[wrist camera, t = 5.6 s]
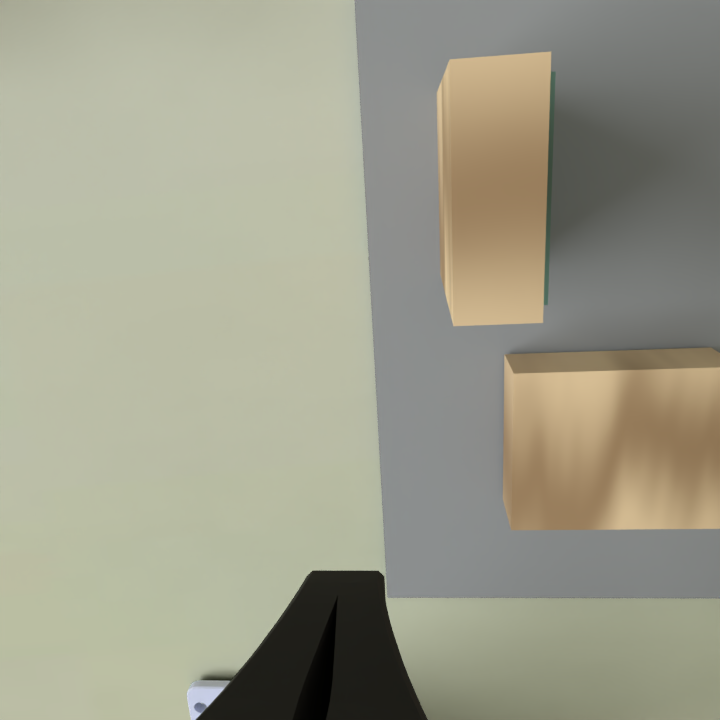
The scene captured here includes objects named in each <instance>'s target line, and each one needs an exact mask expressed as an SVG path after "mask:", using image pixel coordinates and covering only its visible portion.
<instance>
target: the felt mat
mask: <svg viewBox="0 0 720 720" xmlns="http://www.w3.org/2000/svg"><path fill="white" fill-rule="evenodd" d="M355 15H356V33H357V52H358V70H359V88H360V106H361V124H362V142H363V160H364V178H365V197H366V215H367V233H368V251H369V269H370V287H371V305H372V323H373V341H374V360H375V378H376V396H377V414H378V432H379V450H380V468H381V486H382V505H383V523H384V541H385V559H386V577H387V595H388V598H720V529H627V530H511V528H510V524H509V520H508V517H507V513H506V509H505V506H504V502H503V437H504V354H528V353H558V352H588V351H618V350H649V349H679V348H709V347H711V348H713V349H714V350H716V351H717V352H719V353H720V0H355ZM539 52H551V72H556V75H555V106H554V136H553V167H552V197H551V227H550V258H549V288H548V305H544V307H543V323H527V324H501V325H474V326H453V322H452V318H451V314H450V310H449V307H448V303H447V299H446V295H445V291H444V287H443V283H442V279H441V275H440V232H439V183H438V134H437V91H438V88H439V86H440V83H441V80H442V78H443V75H444V73H445V70H446V68H447V65H448V62H449V60H450V59H461V58H474V57H487V56H500V55H513V54H526V53H539Z"/></svg>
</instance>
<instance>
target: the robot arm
mask: <svg viewBox="0 0 720 720" xmlns="http://www.w3.org/2000/svg"><path fill="white" fill-rule="evenodd" d="M187 700H188V705H189V711H190V716H191V720H427V717H426V715H425V713H424V711H423V709H422V707H421V705H420V702H419V700H418V698H417V696H416V693H415V691H414V688H413V686H412V684H411V681H410V679H409V677H408V674H407V671H406V669H405V666H404V664H403V661H402V658H401V655H400V652H399V649H398V646H397V643H396V640H395V637H394V634H393V631H392V627H391V624H390V620H389V615H388V611H387V607H386V601H385V582H384V576H383V575H382V574H381V573H380V572H379V571H312V572H311V573H310V574H309V575H308V576H307V577H306V579H305V580H304V582H303V584H302V585H301V587H300V588H299V590H298V592H297V593H296V595H295V596H294V598H293V599H292V601H291V602H290V604H289V605H288V607H287V608H286V610H285V611H284V613H283V614H282V616H281V617H280V618H279V620H278V621H277V623H276V624H275V625H274V627H273V628H272V629H271V631H270V632H269V633H268V635H267V636H266V637H265V639H264V640H263V642H262V643H261V644H260V646H259V647H258V648H257V650H256V651H255V652H254V653H253V655H252V656H251V657H250V658H249V660H248V661H247V662H246V663H245V664H244V666H243V667H242V668H241V669H240V670H239V672H238V673H237V674H236V675H235V676H234V678H233V679H232V680H231V681H218V680H198V681H195V682H193V683H192V684H191V685H190V687H189V689H188V692H187ZM201 703H204V704H205V705H204V704H201Z"/></svg>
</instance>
